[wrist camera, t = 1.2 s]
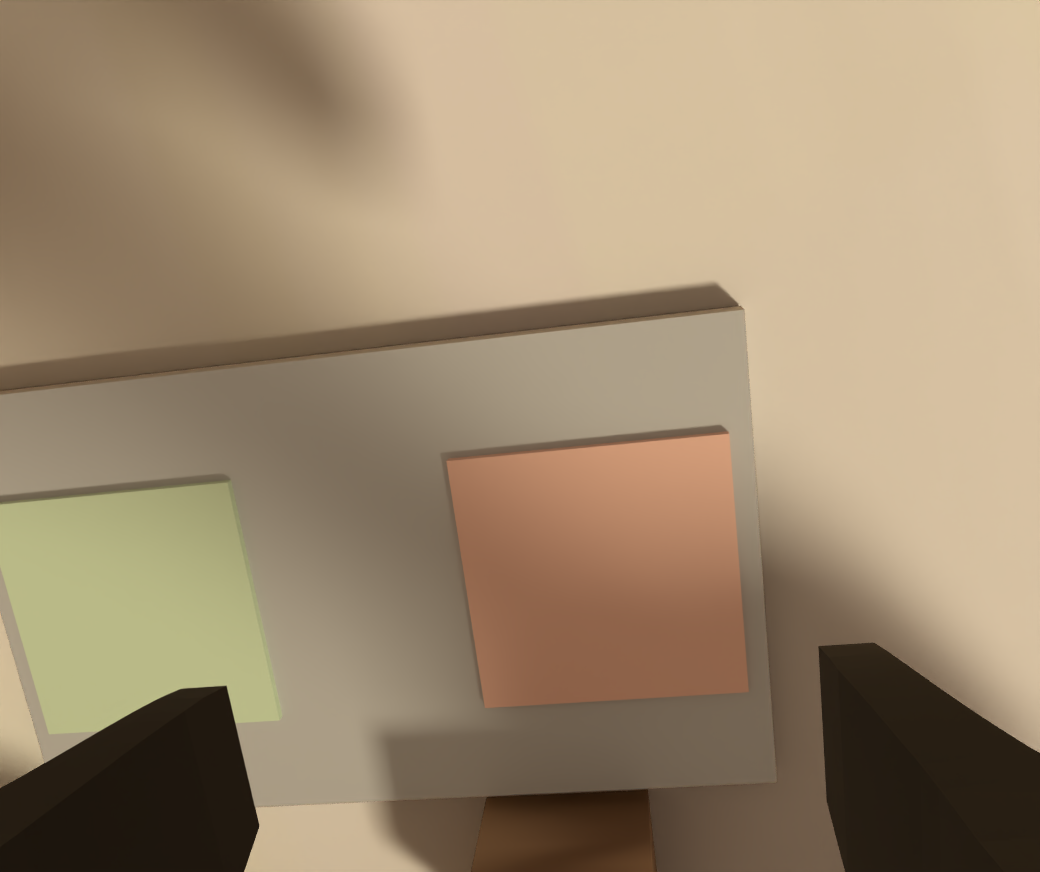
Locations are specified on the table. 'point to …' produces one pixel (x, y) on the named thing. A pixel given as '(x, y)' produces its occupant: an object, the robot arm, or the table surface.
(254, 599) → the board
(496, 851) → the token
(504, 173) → the table surface
